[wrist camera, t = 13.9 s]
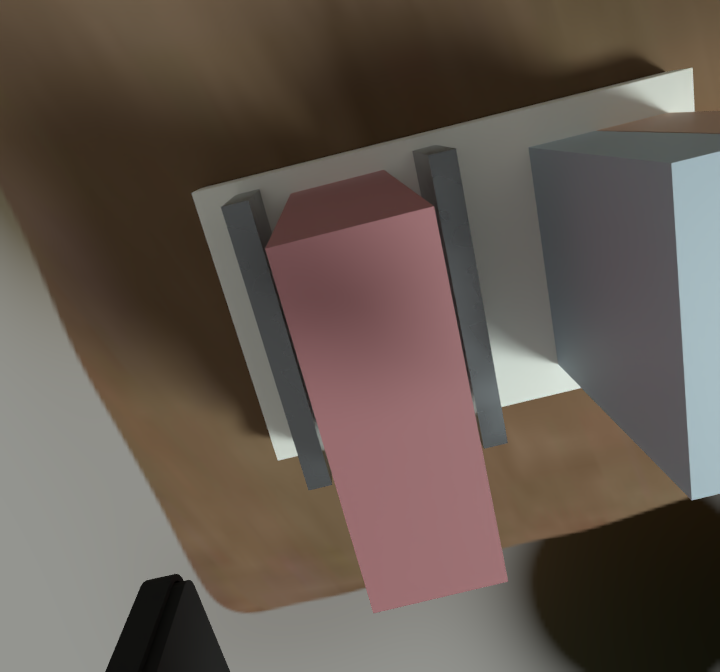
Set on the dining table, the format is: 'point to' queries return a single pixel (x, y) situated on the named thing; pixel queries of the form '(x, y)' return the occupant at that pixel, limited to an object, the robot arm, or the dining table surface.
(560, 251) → the standing books
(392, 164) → the shelf board
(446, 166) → the bookends
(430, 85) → the dining table surface
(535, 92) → the dining table surface
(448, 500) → the pink flat block
